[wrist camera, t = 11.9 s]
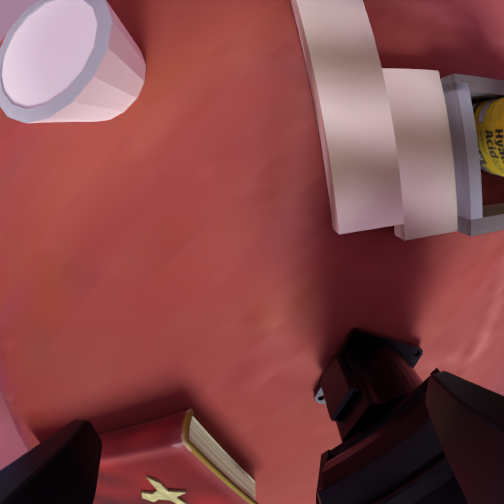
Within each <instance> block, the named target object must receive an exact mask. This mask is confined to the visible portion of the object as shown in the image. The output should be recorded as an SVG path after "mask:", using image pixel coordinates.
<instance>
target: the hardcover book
mask: <svg viewBox="0 0 504 504" xmlns="http://www.w3.org/2000/svg"><path fill="white" fill-rule="evenodd" d="M193 414H194V410H193V409H192V408H191V409H188V410H185V411H182V412H179V413H176V414H172V415H169V416H166V417H162V418H159V419H155V420H152V421H148V422H145V423H141V424H137V425H134V426H130V427H126V428H122V429H118V430H114V431H110V432H105V433H101V434H98V435H99V437H100V438H101V440H102V454H101V460H100V467H99V474H98V482H97V488H96V494H95V498H94V502H93V504H258V503H257V502H256V501H255V480H254V479H253V478H252V477H251V476H250V475H249V474H247V473H246V472H245V471H244V470H243V469H242V468H241V467H240V466H239V465H238V464H237V463H236V462H235V461H234V460H233V459H232V458H231V457H230V456H229V455H228V454H227V452H226V451H225V450H224V449H223V448H222V447H221V446H220V445H219V444H218V443H217V442H216V441H215V440H214V439H213V438H212V437H211V435H210V434H209V433H208V432H207V431H206V430H205V429H204V428H203V427H202V426H201V424H200V423H199V422H198V421H197V420H196V419H195V418H194V416H193Z"/></svg>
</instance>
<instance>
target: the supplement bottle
mask: <svg viewBox="0 0 504 504" xmlns="http://www.w3.org/2000/svg"><path fill="white" fill-rule="evenodd" d="M472 107H473V113H474V119H475V126H476V133H477V140H478V149H479V158H480V168H481V169H482V170H483V171H485V172H487V173H489V174H493V175H499V176H504V97H501V98H493V99H487V100H482V101H479V102H477V103H476V104H474V105H473V106H472Z"/></svg>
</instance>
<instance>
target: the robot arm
mask: <svg viewBox="0 0 504 504" xmlns="http://www.w3.org/2000/svg"><path fill="white" fill-rule="evenodd" d="M357 334H359V336H358V337H356V338H354V336H355V335H357ZM416 351H417V353H415V352H416ZM422 352H423V351H422V349H421V348H420V347H419V346H418V345H414V344H410V343H407V342H403V341H400V340H396V339H393V338H390V337H386V336H383V335H379V334H376V333H373V332H369V331H366V330H362V329H359V328H355V329H353V330H351V331H350V333H349V334H348V336H347V338H346V340H345V342H344V343H343V345H342V347H341V349H340V351H339V353H337V354H336V355H335V356H334V357H333V359H332V361H331V363H330V365H329V366H328V368H327V370H326V371H325V373H324V375H323V377H322V378H321V380H320V385H319V387H318V388H317V390H316V392H315V393H314V399H315V401H316V402H318V403H322V404H326V405H327V409H328V412H329V415H330V418H331V420H332V421H336V423H337V427H338V430H339V433H340V437H341V440H342V443H341V444H340V445H338V446H337V447H335V448H333V449H332V450H327V451H326V452H324V453H323V454H321V462H320V470H319V478H318V486H317V493H316V504H504V396H502V395H500V394H498V393H495V392H493V391H490V390H488V389H486V388H483V387H481V386H479V385H476V384H474V383H472V382H469V381H467V380H465V379H463V378H460V377H458V376H456V375H453V374H451V373H449V372H446V371H441V372H440V371H439V370H438V369H437V368H436V369H435V370H434V371H433V372H432V373H431V374H430V375H431V376H429V377H428V378H427V379H426V380H425V381H424V382H422V380H421V379H420V377H419V376H418V374H417V373H416V372H415V370H414V369H413V368H414V366H415V365H416V363H417V362H418V360H419V358H420V357H421V355H422ZM414 353H415V354H414ZM319 396H322V397H319ZM101 454H102V440H101V438H100V437H99V435H98V433H97V432H96V430H95V428H94V427H93V425H92V424H91V422H90V421H89V420H86V419H75V420H73V421H72V422H70V423H69V424H67V425H66V426H65V427H63V428H62V429H60V430H59V431H57V432H56V433H55V434H53V435H52V436H50V437H49V438H47V439H46V440H44V441H43V442H42V443H40V444H39V445H37V446H36V447H34V448H33V449H31V450H30V451H28V452H27V453H25V454H24V455H22V456H21V457H19V458H18V459H16V460H15V461H14V462H12V463H11V464H9V465H8V466H6V467H5V468H3V469H1V470H0V504H93V502H94V498H95V494H96V488H97V482H98V474H99V467H100V460H101Z"/></svg>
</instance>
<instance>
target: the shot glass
mask: <svg viewBox="0 0 504 504" xmlns="http://www.w3.org/2000/svg"><path fill="white" fill-rule="evenodd" d="M145 72H146V64H145V61H144V58H143V55H142V53H141V51H140V49H139V48H138V46H137V45H136V43H135V42H134V40H133V39H132V37H131V36H130V34H129V33H128V31H127V30H126V28H125V27H124V25H123V24H122V23H121V21H120V20H119V18H118V17H117V15H116V14H115V12H114V11H113V9H112V8H111V6H110V5H109V3H108V2H107V1H106V0H38V1H37V2H35V3H34V4H33V5H31V6H30V7H29V8H27V9H26V10H25V11H24V12H23V14H22V15H21V16H20V17H19V18H18V20H17V21H16V22H15V23H14V25H13V26H12V27H11V28H10V30H9V31H8V33H7V35H6V37H5V39H4V41H3V43H2V46H1V48H0V107H1V108H2V110H3V111H4V112H5V114H6V115H7V116H8V117H10V118H13V119H15V120H18V121H21V122H24V123H41V122H96V121H105V120H110V119H112V118H114V117H116V116H118V115H119V114H121V113H123V112H125V111H126V110H127V109H128V107H129V106H130V105H131V104H132V103H133V102H134V101H135V100H136V99H137V98H138V95H139V93H140V91H141V89H142V87H143V85H144V82H145Z"/></svg>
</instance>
